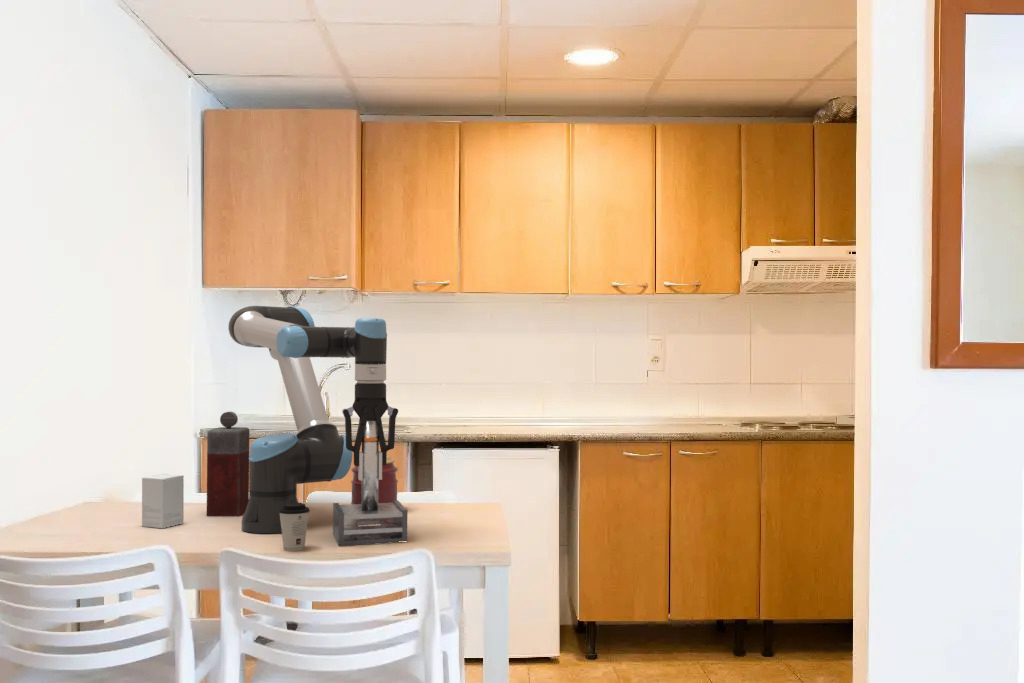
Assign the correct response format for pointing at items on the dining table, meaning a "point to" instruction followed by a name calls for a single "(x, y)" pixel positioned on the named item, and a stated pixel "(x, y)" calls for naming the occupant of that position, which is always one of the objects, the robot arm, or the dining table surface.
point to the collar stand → (351, 516)
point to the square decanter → (227, 468)
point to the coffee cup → (294, 525)
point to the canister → (385, 486)
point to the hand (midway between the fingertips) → (370, 479)
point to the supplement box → (162, 500)
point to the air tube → (370, 466)
